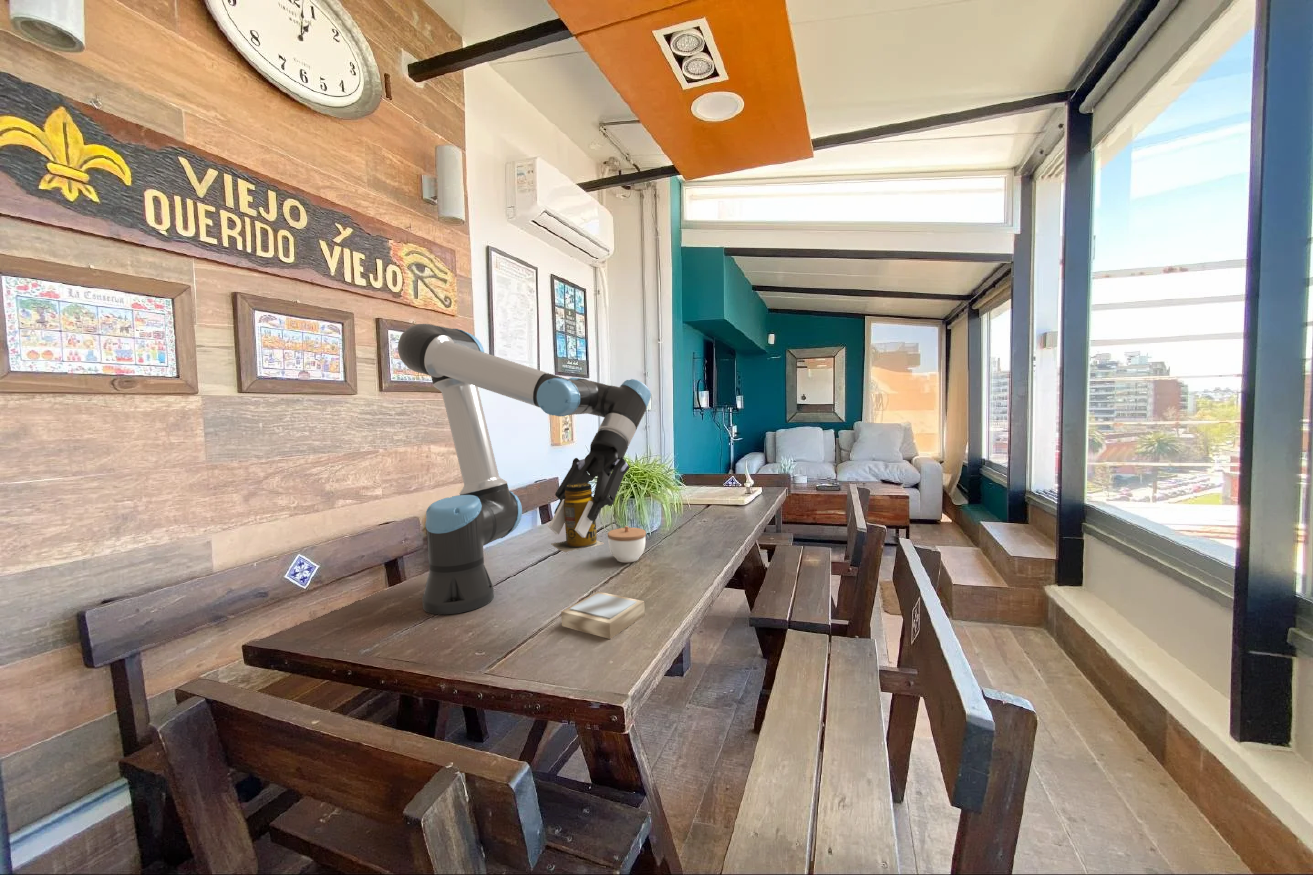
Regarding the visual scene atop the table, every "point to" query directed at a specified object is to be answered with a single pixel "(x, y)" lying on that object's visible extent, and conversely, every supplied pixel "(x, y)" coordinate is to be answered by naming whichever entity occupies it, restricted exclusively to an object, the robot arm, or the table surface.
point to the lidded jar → (627, 543)
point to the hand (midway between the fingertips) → (566, 531)
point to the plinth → (603, 614)
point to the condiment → (577, 518)
